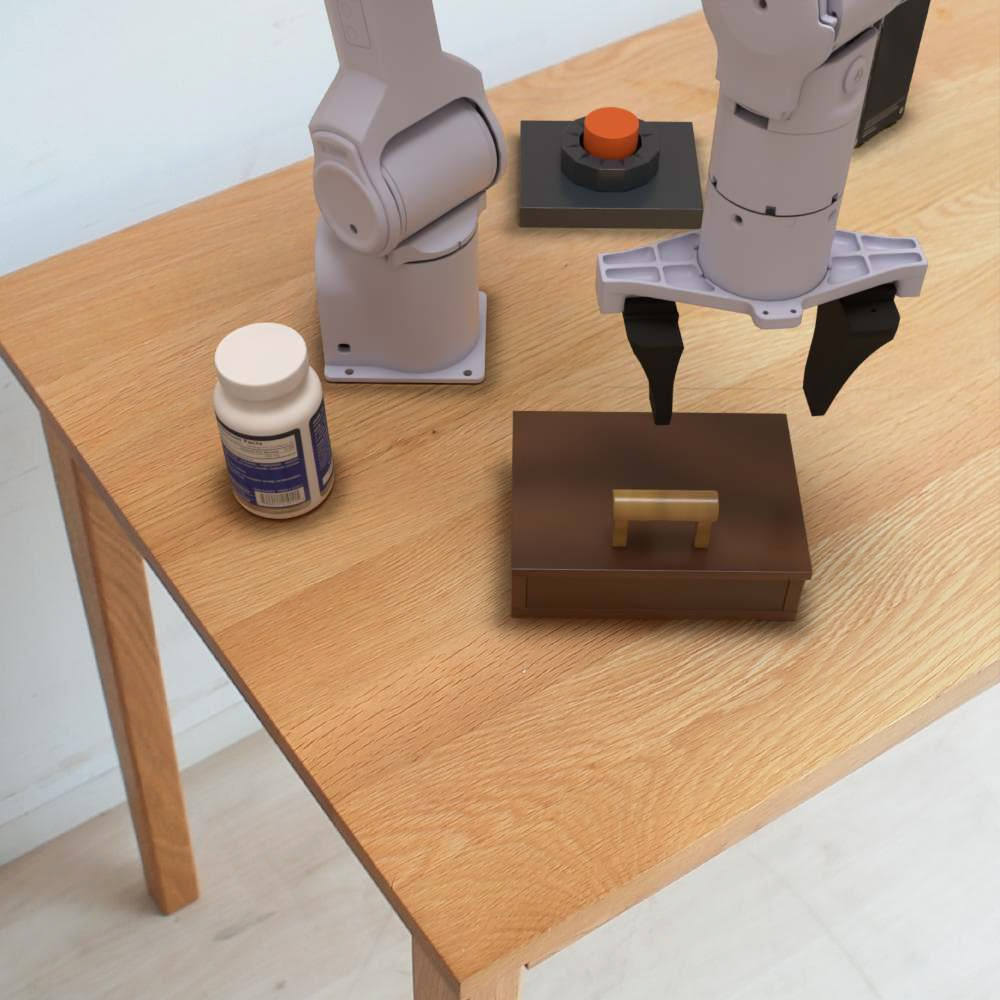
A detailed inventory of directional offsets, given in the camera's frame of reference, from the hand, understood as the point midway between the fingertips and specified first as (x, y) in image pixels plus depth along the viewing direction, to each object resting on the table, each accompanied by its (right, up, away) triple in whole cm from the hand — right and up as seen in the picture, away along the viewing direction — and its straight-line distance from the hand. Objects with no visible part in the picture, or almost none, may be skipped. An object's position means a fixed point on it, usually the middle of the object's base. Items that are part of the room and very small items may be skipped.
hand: (736, 406), depth 71 cm
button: (-4, +19, +26) cm, 32 cm away
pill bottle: (-24, -4, +10) cm, 26 cm away
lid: (-4, -4, +3) cm, 7 cm away
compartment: (-4, -7, +7) cm, 10 cm away
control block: (-4, +17, +28) cm, 33 cm away
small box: (+12, +24, +35) cm, 44 cm away
